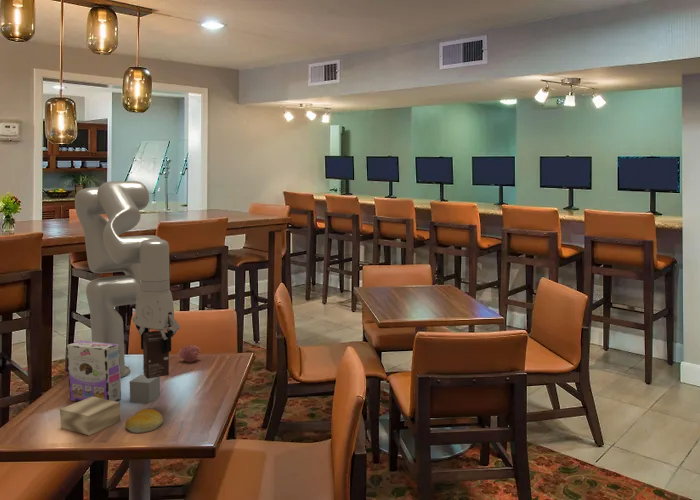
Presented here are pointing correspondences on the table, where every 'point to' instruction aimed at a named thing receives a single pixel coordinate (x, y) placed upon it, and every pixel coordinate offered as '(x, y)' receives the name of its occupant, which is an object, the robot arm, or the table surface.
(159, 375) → the box
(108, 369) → the candy box
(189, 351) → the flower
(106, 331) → the robot arm
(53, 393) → the table surface
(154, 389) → the grey cube
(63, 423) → the base block
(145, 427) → the bread roll
